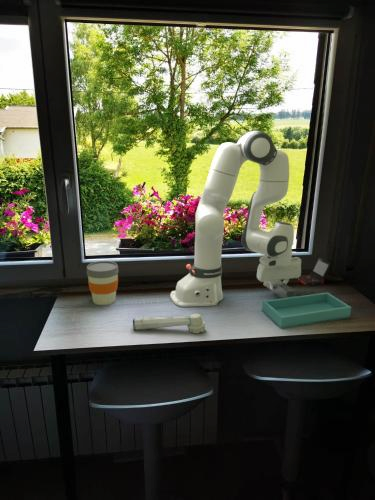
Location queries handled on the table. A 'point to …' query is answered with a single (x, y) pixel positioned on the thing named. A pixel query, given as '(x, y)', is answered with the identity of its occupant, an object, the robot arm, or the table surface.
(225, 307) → the table surface
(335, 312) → the bin
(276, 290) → the strut
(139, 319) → the white flashlight
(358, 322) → the table surface
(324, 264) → the handheld gaming console
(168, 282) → the table surface
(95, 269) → the reusable coffee cup
